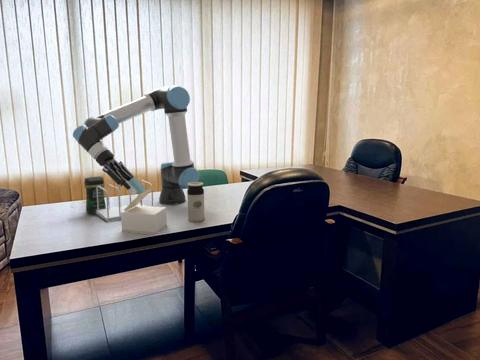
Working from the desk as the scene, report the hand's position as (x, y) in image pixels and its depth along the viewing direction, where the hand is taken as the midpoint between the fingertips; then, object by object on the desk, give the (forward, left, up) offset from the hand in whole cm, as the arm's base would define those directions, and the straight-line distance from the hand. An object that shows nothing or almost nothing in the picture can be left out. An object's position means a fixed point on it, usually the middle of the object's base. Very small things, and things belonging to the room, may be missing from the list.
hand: (137, 192), depth 167 cm
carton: (-1, +2, -17) cm, 17 cm away
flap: (0, 0, -4) cm, 4 cm away
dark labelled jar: (-26, +8, -17) cm, 32 cm away
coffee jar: (+1, -41, -17) cm, 44 cm away
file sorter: (-8, -27, -17) cm, 33 cm away
